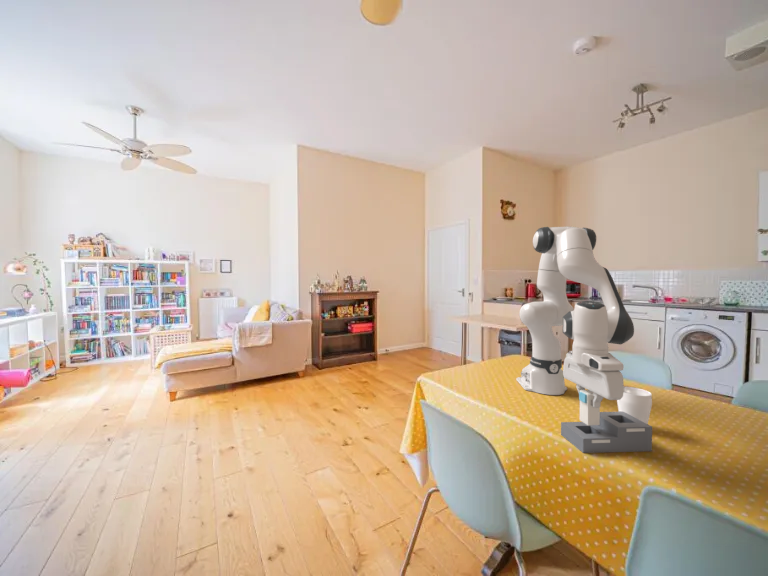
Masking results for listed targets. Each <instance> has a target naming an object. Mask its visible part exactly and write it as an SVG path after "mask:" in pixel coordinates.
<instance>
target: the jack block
mask: <svg viewBox="0 0 768 576" xmlns="http://www.w3.org/2000/svg"><path fill="white" fill-rule="evenodd" d="M560 435H561V436H562V438H564V439H565V438H566V439H565V440H567V441H568V442H569V443H570V444H571V445H572V446H574V447H575V448H576V449H577V450H579V451H581V453H582V454H585V453H586V454H587V453H588V454H591V453H627V452H628V453H629V452H630V453H631V452H634V453H636V452H637V453H638V452H653V449H652V448H653V426H652V425H650V424H649V423H648V424H646V423H644V422H642V421H640V420H639V419H637V418H635V417H633V416H631V415H629V414H627V413H625V412H619V411H600V425H587V424H585V423H583V422H582V421H561V422H560Z"/></svg>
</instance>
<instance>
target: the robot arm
mask: <svg viewBox="0 0 768 576" xmlns="http://www.w3.org/2000/svg"><path fill="white" fill-rule="evenodd" d="M596 243H597V233H596V232H595V230H593V229H591V228H588V227H576V226H552V227H549V226H544V227H543V226H542V227H539V228H538V229H537V230H536V231H535V233H534V235H533V238H532V246H533V250H534V251H535V252H537V253H540V254H541V255H540V258H539V264H538V270H537V279H536V288H537V290H539V291H540V292H541V293H542V296H543V297H542V298H543V301H542V300H541V301H532V302H527V303H524V304H522V306H521V307H520V309H519V311H518V313H519V314H518V316H519V320H520V321H521V323H522V324H523V325H524V326H526V328H527V329H528V332H529V333H530V337H531V345H532V346H531V348H532V352H531V353H532V354H531V355H530V356H529V359H530V361H529V364H528V365H526V366H525V367H523V368H522V370H521V372H520V376H518V377H516V378H515V379H516V382H518V383H519V385H520V386H521V387H522V388H523V389H524V391H525V390H526V391H528V392H533V393H537V394H543V395H548V396H549V395H550V396H560V395H564V394H565V392H566V391H568V387H567V386H566V384H565V382H566V381H565V380H568V381H570V382H572V383H574V384H576V385H575V387H576V389H577V393H578V394H579V392H580V390H590V391H592V392H593V396H595V397H594V399H593V400H591V406H593V407H595V408H600V409H601V402H602V401H603V400H604V399H606V400H609V401H617V400H620V399H621V398H622V397H623V391H624V382H625V381H624V375H623V373H622V372H621V371H624V362H621V360H619V359H618V358H616V357H615V356H614V355H613V354H611V353H610V352H609V345H608V344H614V345H624V344H625V343H627V342H628V341H629V340H630V339H632V338H633V337H634V334H635V327H634V326H635V325H634V322H633V320H632V318H631V316H630V315H629V312H627V309H626V308H625V305H624V303H623V301H622V298H621V295H620V293H619V291H618V288H617V286H616V284H615V281H614V279H613V277H612V274H611V273H610V271H609V269H607V268H606V267H604V266H602V265H601V264H600V263H599V262H598V261H597V260H596V258H595V256H594V252H593V250H594V249H595V247H596ZM567 279H568V280H569V281H572V282H575V283H580V284H581V285H582V284H583V285H586V286H589V287H591V288H593V289H595V290H597V292H598V294H599V295H600V298H601V300H602V302H597V301H595V300H594V301H592V300H591V301H589V300H584V301H582V300H581V301H578V302H576V303H575V305H574V307H573V305H571V303H570V302H569V300H568V296H567V290H566V289H567V288H566V287H567ZM560 326H562V333H563V334H564V335H565V336H566V337H567V338H568V339H571V340H573V342H572V345H571V346H572V350H569V351H568V352H567V353H566V354H565V358H564V360H562V357H561V356H562V355H561V353H562V351H561V350H562V342H561V340H560V339H559V338H558V336H556V335H555V334H554V332H553V327H560ZM562 361H563V362H562Z"/></svg>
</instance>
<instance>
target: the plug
mask: <svg viewBox="0 0 768 576" xmlns="http://www.w3.org/2000/svg"><path fill="white" fill-rule="evenodd" d="M594 397H595V396H593V392H592V391H590V390H588V389H585V390H580V392H579V393H578V399H579V400H578V401H579V422H583V423H585V424H587V425H600V412H601V411H600V409H601V407H600V408H595V407H593V406H591V400H593V399H594Z"/></svg>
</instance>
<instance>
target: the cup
mask: <svg viewBox="0 0 768 576" xmlns="http://www.w3.org/2000/svg"><path fill="white" fill-rule="evenodd" d="M652 399H653V397H652V392H650V391H648V390H646V389H642V388H639V387H634V386H628V385H627V386H626V385H625V386H624V391H623V397H622V398H621V399H620V400H616V403H617V409H618V412H625V413H627V414H629V415H631V416H633V417H635V418H637V419H639V420H640V421H642V422H644V423H646V424H648V425H649V420H650V415H651V412H652V411H651V410H652V406H653V400H652Z"/></svg>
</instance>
